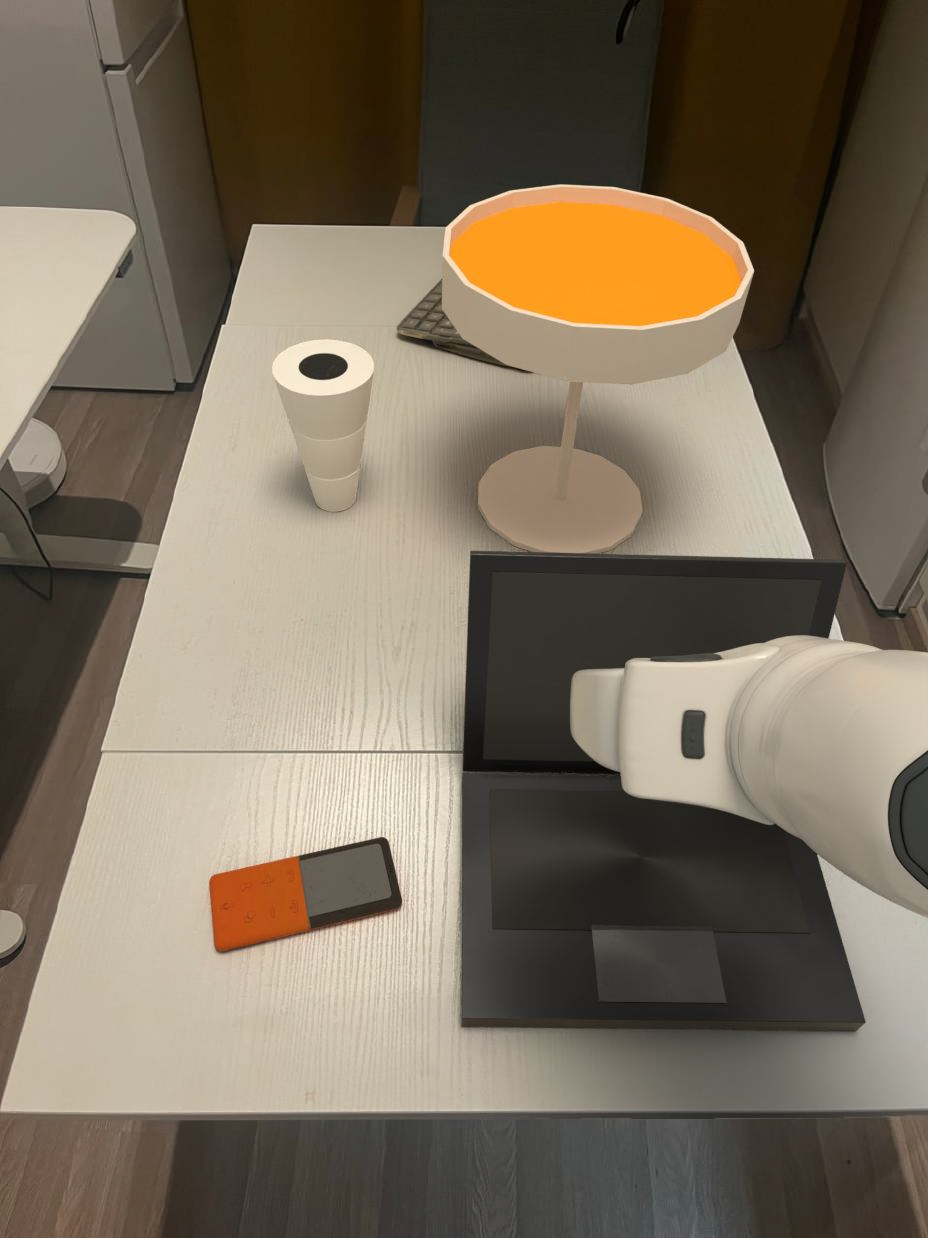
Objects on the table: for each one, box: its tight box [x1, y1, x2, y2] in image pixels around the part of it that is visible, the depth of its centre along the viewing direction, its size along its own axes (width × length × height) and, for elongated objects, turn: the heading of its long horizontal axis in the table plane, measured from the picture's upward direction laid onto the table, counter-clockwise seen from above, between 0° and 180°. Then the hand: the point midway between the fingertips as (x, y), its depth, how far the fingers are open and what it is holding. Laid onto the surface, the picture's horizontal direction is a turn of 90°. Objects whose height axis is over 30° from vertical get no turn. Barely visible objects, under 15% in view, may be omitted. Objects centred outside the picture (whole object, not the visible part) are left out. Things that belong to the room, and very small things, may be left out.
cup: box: [271, 339, 375, 513], centre depth 100 cm, size 11×11×18 cm
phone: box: [208, 836, 403, 952], centre depth 73 cm, size 6×1×15 cm
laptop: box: [396, 278, 517, 369], centre depth 134 cm, size 26×32×10 cm
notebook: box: [460, 772, 866, 1032], centre depth 74 cm, size 21×30×2 cm
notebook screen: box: [461, 550, 848, 775], centre depth 76 cm, size 21×30×1 cm
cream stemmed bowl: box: [441, 183, 755, 554], centre depth 96 cm, size 30×30×31 cm
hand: (720, 694), depth 55 cm, fingers closed
